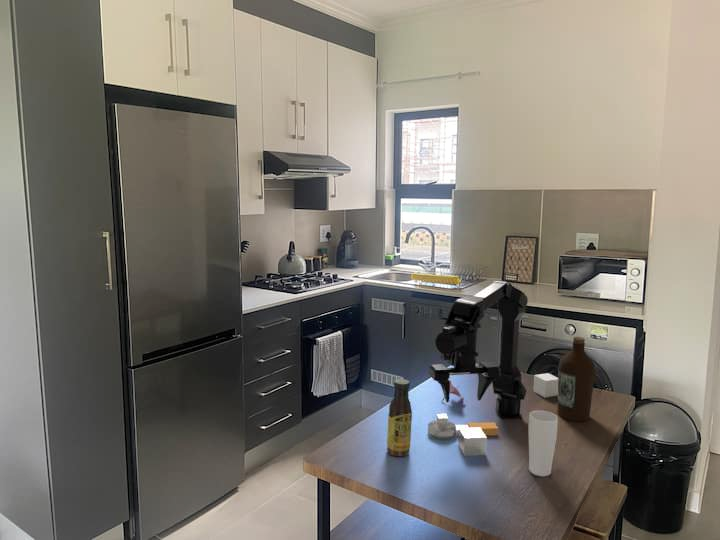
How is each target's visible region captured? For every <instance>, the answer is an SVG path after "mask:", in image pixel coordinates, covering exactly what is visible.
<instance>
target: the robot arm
mask: <svg viewBox="0 0 720 540" xmlns="http://www.w3.org/2000/svg"><path fill="white" fill-rule="evenodd" d="M528 300H529V299H528V296H527V295H526V294H525V292H524V291H522V290H520V289H518V288H517V287H515V286H513V285H512V284H511V283H510V282H509V281H504V280H493V281H492V283H491V284H489V285H488V286H486V287H485V288H484V289H482V290H481V291H479V292H477V293H476V294H474V295H473V296H465V297H464V296H463V297H461V298H458V299H456V300H455V301H454V302H453V304H452V306H451V309H450V311H449V313H448V316H447V318H446V320H445V323H444V327H442V332H440V333H439V334H438V335H437V336H436V338H435V346H436V348H437V350H438V351H439V352H440V360H441V361H446V362H447V364H448V365H449V364H450V365H451V367H447V366H445V365H444V364H443V363H442V364H441V363H440V364H439V363H438V364H437V363H436V364H430V366H429V367H428V376H430V378H432V380H434V382H436V383H438V384H439V385H440V387H441V390H442V393H443V396H444V397H445V398H444V397H443V398H444V400H445V403H449V402H450V397H451V396H450V394H451V393H450V379H449V377H450V376H460V375H477V377H478V383H477V393H476V395H477V396H476V397H477V400H478V401H481V400H482V398H483V397H484V394H485V393H486V391H487V390H488V388H489V387H490V386H491V384H492V389H493V394H495V395H497V398H496V400H495V408H494V409H495V412H497V414H498V416H499V417H500V418H502V419H515V418H517V419H519V418H520V419H521V418H523V416H522V414H521V401H523V400H525V397H526V395H527V388H526V387H525V386H524V384H523V382H522V373H521V371H520V369H519V367H518V366H517V365H518V364H517V361H518V347H519V345H518V344H519V328H520V319H521V318H522V317H523V315H524V314H525V312H526V311H527V310H526V309H527V306H528V302H529V301H528ZM496 303H497V311H498V313H499V314H500V317H501V319H502V323H501V324H502V327H501V342H500V358H499V360H500V361H499V362H500V363H499V365H497V364H495V363H494V362H493V361H480V362H479V363H478V365H476V362H477V361H476V360H477V357H478V356H479V352H478V350H477V342H478V341H477V339H478V329H480V328H481V327H482V326H481V323H480V321H481V320H482V318H484V317H485V311H486V310H487V309H488V308H490V307H492V306H493V305H494V304H496ZM448 379H449V380H448Z"/></svg>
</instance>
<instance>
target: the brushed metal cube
mask: <svg viewBox="0 0 720 540" xmlns="http://www.w3.org/2000/svg"><path fill="white" fill-rule="evenodd" d="M457 437H458V439H457V440H458V442H457V444H458V447H459V449H460V451H461V453H462V455H463V457H465V456H466V457H470V456H487V445H488V444H487V442H488V437H487V436H486V435H485V434H484V432H483V431H482V429H481V428H480V427H476V428H459V436H457Z"/></svg>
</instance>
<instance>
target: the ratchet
mask: <svg viewBox="0 0 720 540" xmlns="http://www.w3.org/2000/svg"><path fill="white" fill-rule="evenodd" d="M476 427H480V428H481V429H482V431H483V432H484V434H485V435H489V436H499V427H498V426H497V425H496V423H495V422H467V424H455V423H454V422H452V421H449V417H448V416H447V413H439V414H438V413H437V414H436V419H435V420H431V421H429V422H428V424H427V435H428V434H429V435H430V436H431V438H432V437H433V438H432V439H434V438H435V439H434V440H438V439H439V441H449V439H450V440H453V439H454V438H456V437H457V436H456V435H459V428H476ZM429 435H428V436H429ZM430 436H429V437H430ZM452 438H453V439H452Z"/></svg>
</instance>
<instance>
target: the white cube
mask: <svg viewBox="0 0 720 540" xmlns="http://www.w3.org/2000/svg"><path fill="white" fill-rule="evenodd" d="M532 390H533V391H532V392H534V393H536V394H537V395H539V396H541V397H543V398H549V397H556V396H557V397H558V376H555V375H553V374H551V373H549V372H546V373H540V374H534V376H533V388H532Z"/></svg>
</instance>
